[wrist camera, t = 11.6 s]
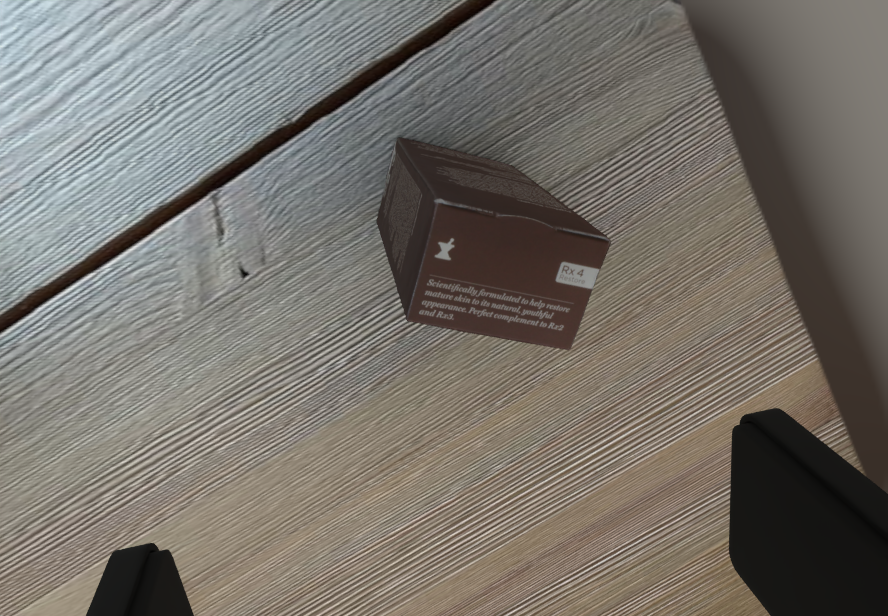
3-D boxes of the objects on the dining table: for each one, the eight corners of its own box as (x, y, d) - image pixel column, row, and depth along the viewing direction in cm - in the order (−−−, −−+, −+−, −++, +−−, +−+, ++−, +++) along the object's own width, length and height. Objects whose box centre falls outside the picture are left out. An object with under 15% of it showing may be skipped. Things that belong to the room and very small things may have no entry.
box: (373, 229, 33) (400, 324, 22) (396, 134, 31) (436, 185, 20) (492, 255, 34) (574, 356, 23) (518, 165, 33) (619, 228, 22)
